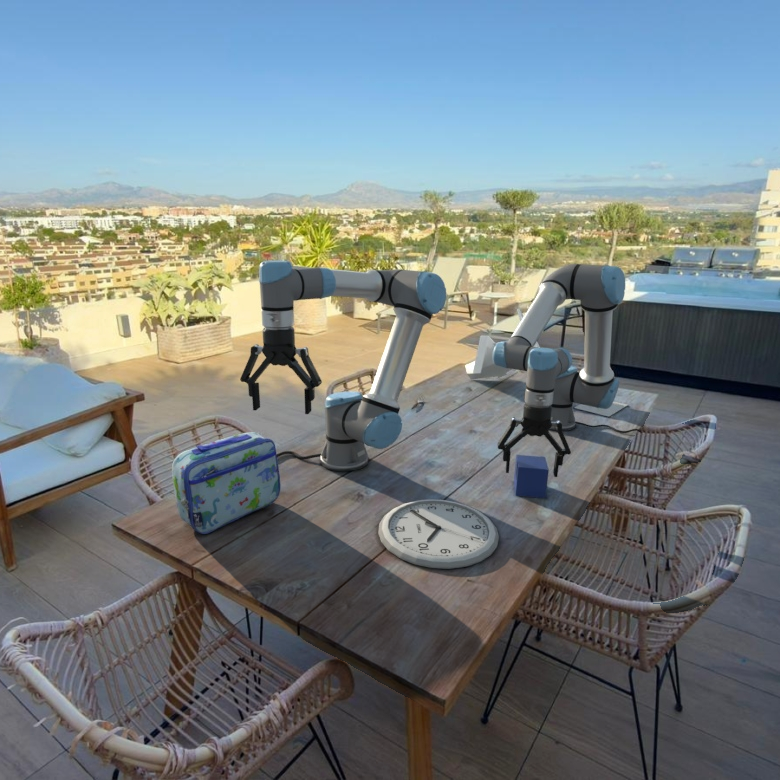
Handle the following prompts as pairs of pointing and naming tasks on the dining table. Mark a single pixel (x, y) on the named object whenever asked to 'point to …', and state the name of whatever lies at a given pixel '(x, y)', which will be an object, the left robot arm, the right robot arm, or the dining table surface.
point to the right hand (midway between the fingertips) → (531, 473)
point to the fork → (418, 402)
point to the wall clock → (438, 534)
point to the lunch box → (225, 480)
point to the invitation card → (606, 412)
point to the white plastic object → (487, 359)
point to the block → (531, 476)
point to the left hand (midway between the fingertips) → (282, 410)
